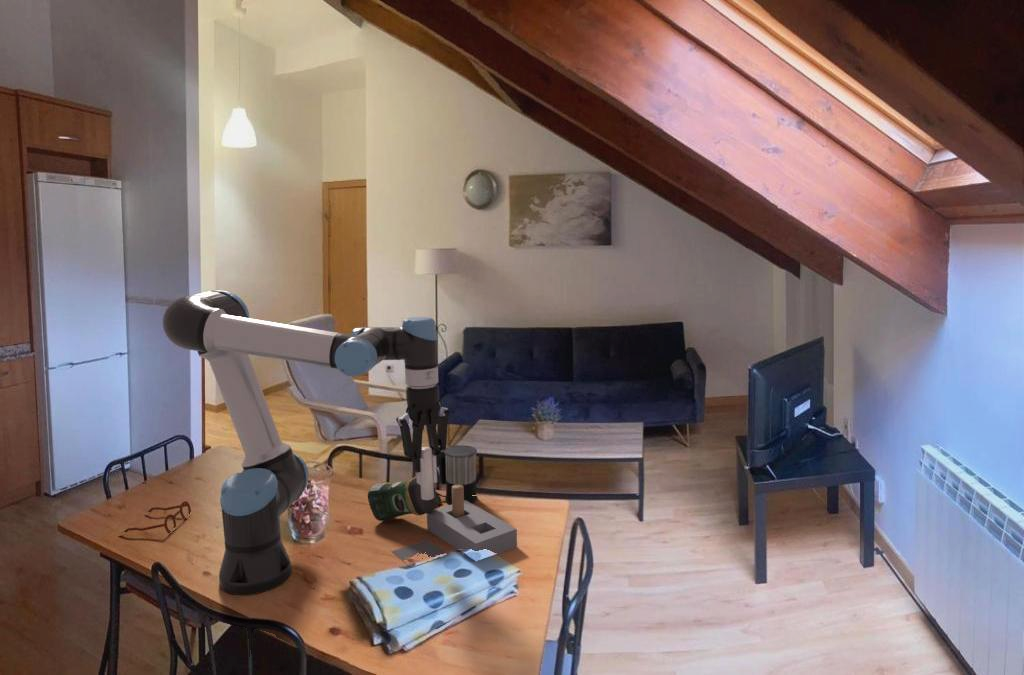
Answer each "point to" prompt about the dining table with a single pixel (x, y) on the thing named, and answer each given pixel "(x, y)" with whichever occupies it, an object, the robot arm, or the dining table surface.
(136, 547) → the dining table surface
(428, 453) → the peg
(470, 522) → the block
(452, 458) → the milk frother
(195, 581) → the dining table surface
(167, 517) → the glasses
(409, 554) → the mat
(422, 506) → the coffee jar
